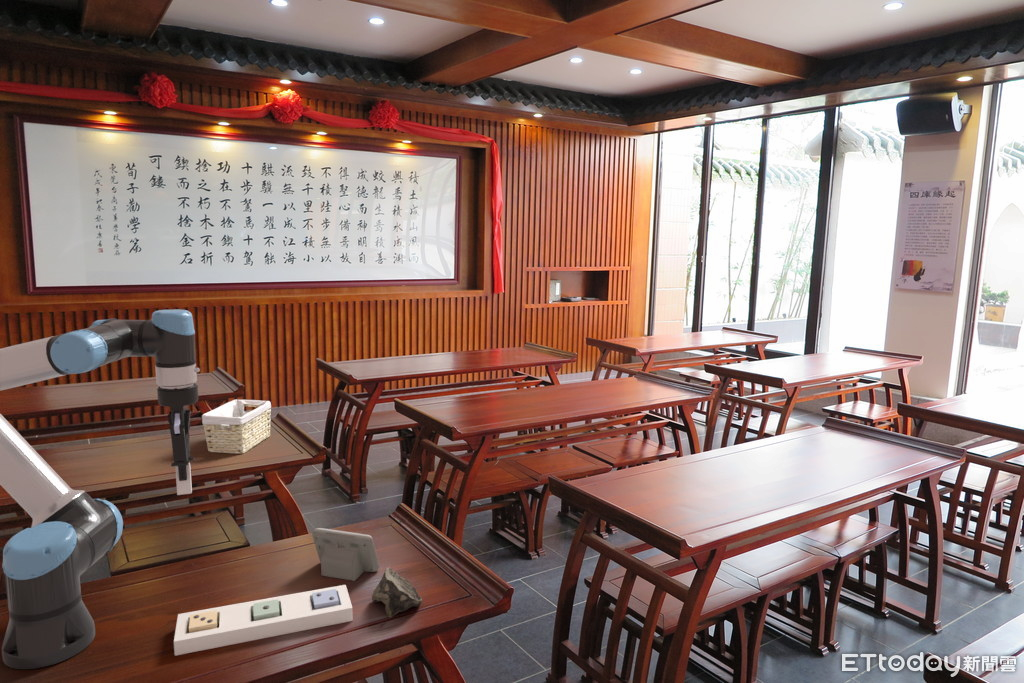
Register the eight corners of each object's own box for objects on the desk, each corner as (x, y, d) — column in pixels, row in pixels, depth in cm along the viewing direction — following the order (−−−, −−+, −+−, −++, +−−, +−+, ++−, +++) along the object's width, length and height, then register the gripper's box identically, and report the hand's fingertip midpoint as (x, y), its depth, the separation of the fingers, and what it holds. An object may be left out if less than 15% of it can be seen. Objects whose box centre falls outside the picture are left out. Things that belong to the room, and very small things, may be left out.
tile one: (254, 632, 138) (253, 615, 137) (253, 619, 142) (253, 603, 142) (280, 627, 139) (279, 611, 139) (278, 614, 144) (278, 598, 143)
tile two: (315, 620, 142) (314, 604, 141) (312, 608, 147) (312, 592, 146) (339, 616, 144) (338, 600, 143) (336, 603, 148) (335, 588, 148)
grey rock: (434, 602, 149) (417, 573, 144) (404, 634, 144) (385, 606, 139) (405, 582, 157) (388, 554, 152) (375, 612, 152) (357, 584, 147)
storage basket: (243, 456, 243) (241, 416, 241) (201, 453, 245) (199, 414, 243) (274, 436, 267) (272, 400, 264) (236, 434, 269) (234, 398, 266)
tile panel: (174, 655, 130) (173, 641, 129) (179, 627, 139) (178, 614, 139) (352, 620, 142) (352, 607, 142) (346, 596, 152) (345, 584, 151)
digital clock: (383, 570, 164) (382, 529, 162) (359, 588, 156) (358, 545, 154) (331, 555, 171) (330, 516, 169) (306, 571, 163) (305, 530, 161)
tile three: (189, 644, 133) (188, 627, 132) (191, 631, 138) (190, 614, 137) (217, 639, 135) (216, 622, 134) (218, 626, 140) (217, 609, 139)
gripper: (194, 390, 134) (201, 502, 138) (199, 377, 146) (206, 480, 150) (152, 393, 131) (160, 507, 135) (161, 379, 143) (168, 484, 147)
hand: (184, 492), depth 142 cm, fingers closed
